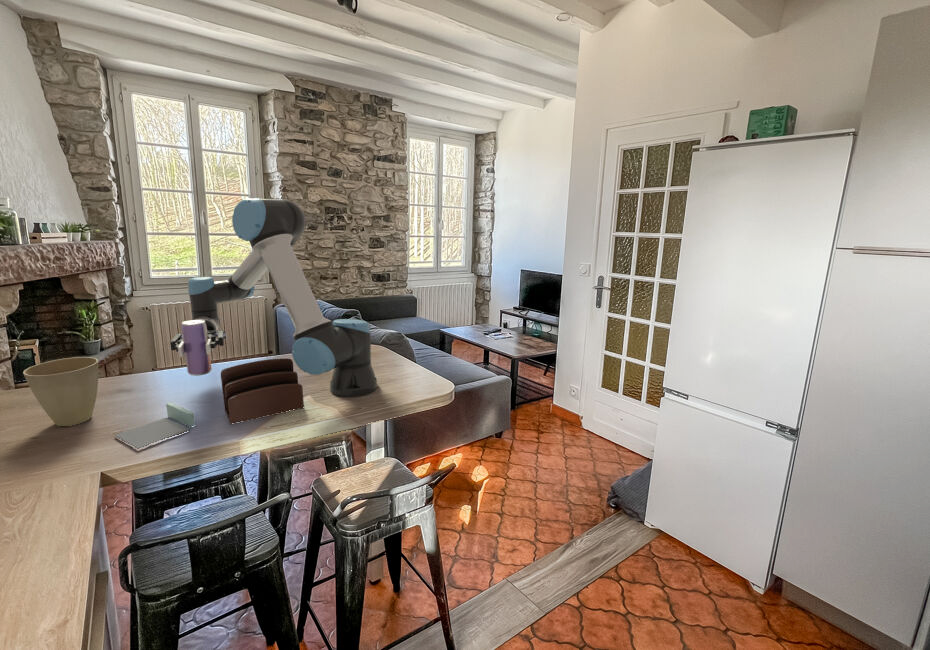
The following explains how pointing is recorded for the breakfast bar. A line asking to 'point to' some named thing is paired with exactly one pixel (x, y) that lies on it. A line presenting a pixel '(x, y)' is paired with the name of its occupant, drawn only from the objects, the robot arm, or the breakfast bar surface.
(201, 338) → the beverage can
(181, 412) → the frosted wall
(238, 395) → the letter holder
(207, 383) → the breakfast bar surface
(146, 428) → the slate coaster
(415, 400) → the breakfast bar surface
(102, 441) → the breakfast bar surface
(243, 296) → the robot arm
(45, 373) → the plant pot
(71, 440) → the breakfast bar surface
